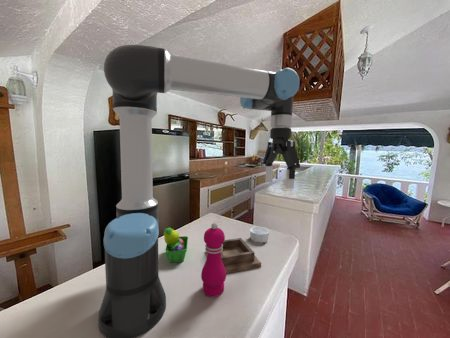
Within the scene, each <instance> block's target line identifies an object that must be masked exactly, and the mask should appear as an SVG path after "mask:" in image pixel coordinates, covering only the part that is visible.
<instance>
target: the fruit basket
mask: <svg viewBox="0 0 450 338" xmlns="http://www.w3.org/2000/svg"><path fill="white" fill-rule="evenodd" d="M163 236H164V242H165V244H166V247H165V250H164V251H165V253H166V256H167V259H168V263H179V262H184V261H185V257H186V253H187V250H188V240H189V236H186V235H185V236H181V235H180V233H179V232H178V231H177V230H174V229H173V228H171V227H168V228H167V227H166V228H165V229H164V232H163Z"/></svg>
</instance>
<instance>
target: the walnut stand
mask: <svg viewBox="0 0 450 338" xmlns="http://www.w3.org/2000/svg"><path fill="white" fill-rule="evenodd" d="M222 245H223V247H222V248H223V250H222V252H221V259H222V262H223V265H224V267H225V270H226V274H230V273H235V272H241V271H246V270H250V269H255V268H261V267H262V262H261V261H260V260H259V258H258V257H257V256H256V255H255V254H256V253H255V251H254V250H253V249H252V248H250V246H249V245H248V244H247V243H246V242H245V240H243V238H242V237H238V238H229V239H225V240H224V242H223V243H222Z"/></svg>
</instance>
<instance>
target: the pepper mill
mask: <svg viewBox="0 0 450 338" xmlns="http://www.w3.org/2000/svg"><path fill="white" fill-rule="evenodd" d="M210 226H211V227H210V228H207V229H206V230H205V232H204V234H203V242H204V243H205V245H204V246H205V252H206V259H205V263H204V265H203V266H202V270H201V272H200V273H201V274H200V277H201V280H202V292H203V294H205V296H207V297H210V298H211V297H219V296H220V295H222V294H223V293H224V291H225V281H226V279H227V278H226V277H227V273H226V270H225V267H224V265H223V262H222V259H221V252H222V250H223V248H222V247H223V245H222V243H223V242H224V240H226V237H225V233H224V231H223V229H221V228H220V227H218V224H217V223H216V222H213V223H212V224H211V225H210Z"/></svg>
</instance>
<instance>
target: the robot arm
mask: <svg viewBox="0 0 450 338" xmlns="http://www.w3.org/2000/svg"><path fill="white" fill-rule="evenodd" d="M103 74H104V77H105V80H106V82H107V84H108V86H110V88H111V90H112V111H113V112H114V113H115V114H116V115H117V116H118V117H119V143H120V145H119V147H120V150H119V151H120V171H121V172H120V174H121V175H120V176H121V177H120V178H121V179H120V181H121V199H120V201H119V202H118V203H117V204H116V205H115V207H116V208H115V209H116V218H114V219H112V220H111V221H110V222H109V223H108V224H107V225H106V227H105V229H104V236H103V247H104V265H105V270H104V271H105V287H106V288H105V293H104V296H103V299H102V302H101V305H100V308H99V311H98V317H97V318H98V320H97V321H98V330H99V332H100V333H101V334H102V335H103V336H104V337H106V338H135V337H138V336H140V335H142V334H144V333H146V332H147V331H149V330H151V329H152V328H153V327H154V326H156V324H158V322H159V321H160V320H161V319H162V318H163V316H164V314H165V311H166V307H167V296H166V292H165V290H164V287H163V284H162V282H161V278H160V277H159V231H160V229H159V225H160V219H159V203H158V202H159V201H158V200H157V199H156V198H154V196H153V195H154V193H153V191H154V189H153V187H154V185H153V184H154V183H153V181H154V180H153V132H152V130H153V128H152V127H153V123H152V120H153V118H154V117H155V116H156V115H157V114H158V111H157V109H158V108H157V105H158V101H157V100H158V99H157V97H158V94H159V93H160V94H166V93H168V92H170V90H172V91H180V92H181V91H182V92H189V93H190V92H191V93H198V94H205V95H206V94H208V95H216V96H217V95H218V96H225V97H226V96H227V97H236V98H239V103H240V106H241V107H242V108H243V109H247V110H251V111H252V110H253V111H254V110H256V111H257V110H258V111H269V112H270V126H269V127H270V128H271V129H270V133H269V134H270V135H269V139H271V140H272V141H268V142H267V148H266V151H265V154H264V157H263V161H262V164H263V165H264V166H265V183H273V177H274V176H273V172H274V164H273V163H274V162H275V160H276V158H277V156H278V155H282V157H283V160H284V162H285V164H286V166H287V168H286V172H285V173H286V175H285V189H294V184H295V178H296V175H295V174H296V170H297V169H300V168H301V164H300V161H299V157H298V152H297V150H296V141H295V140H291V138H292V128H291V127H292V126H293V124H292V123H293V122H292V121H293V120H292V118H293V109H294V108H293V104H294V98H295V97H294V96H295V95H296V94H297V92H298V90H299V89H300V76H299V74H298V73H297V72H296V71H295V69H293V68H290V67H285V68H283V69H279V70H277V72H276V71H268V70H260V69H255V68H250V67H244V66H238V65H231V64H226V63H220V62H214V61H209V60H203V59H196V58H191V57H185V56H180V55H179V56H178V55H173V54H171V53H170V52H168V50H167V48H163V47H162V48H161V47H156V46H153V45H152V46H151V45H143V44H123V45H119V46H117V47H115V48H113V49H112V50H110V51H109V53H108V54H107V56H106V57H105V59H104V63H103Z"/></svg>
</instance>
